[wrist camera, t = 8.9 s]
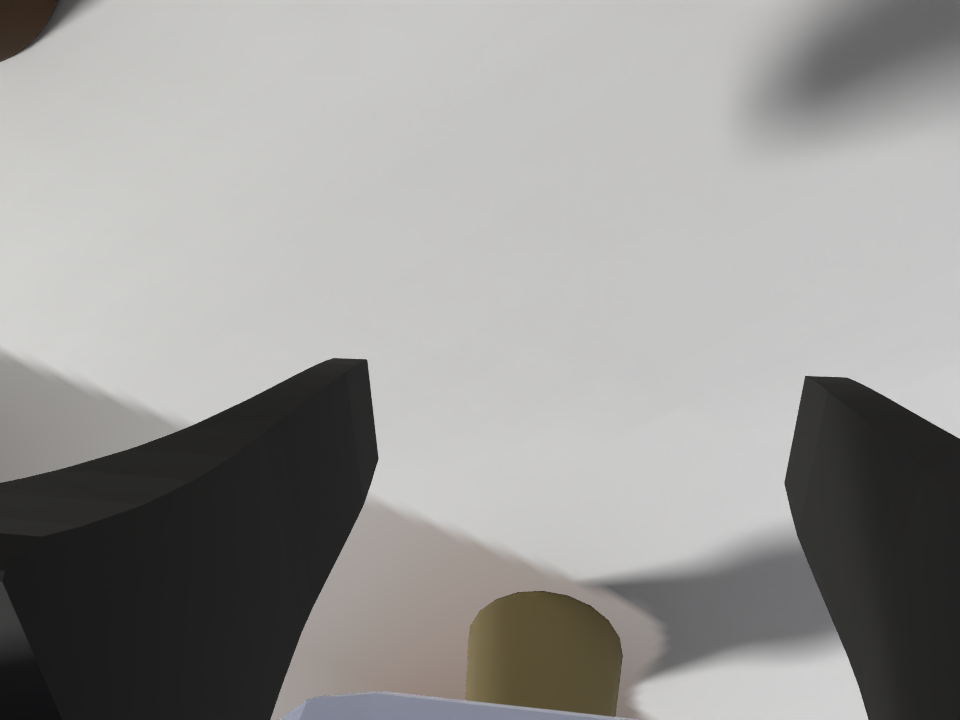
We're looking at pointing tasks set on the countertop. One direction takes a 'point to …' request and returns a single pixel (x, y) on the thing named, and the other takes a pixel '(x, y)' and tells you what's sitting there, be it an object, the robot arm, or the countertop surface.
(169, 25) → the countertop surface
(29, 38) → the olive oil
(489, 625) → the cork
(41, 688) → the robot arm
